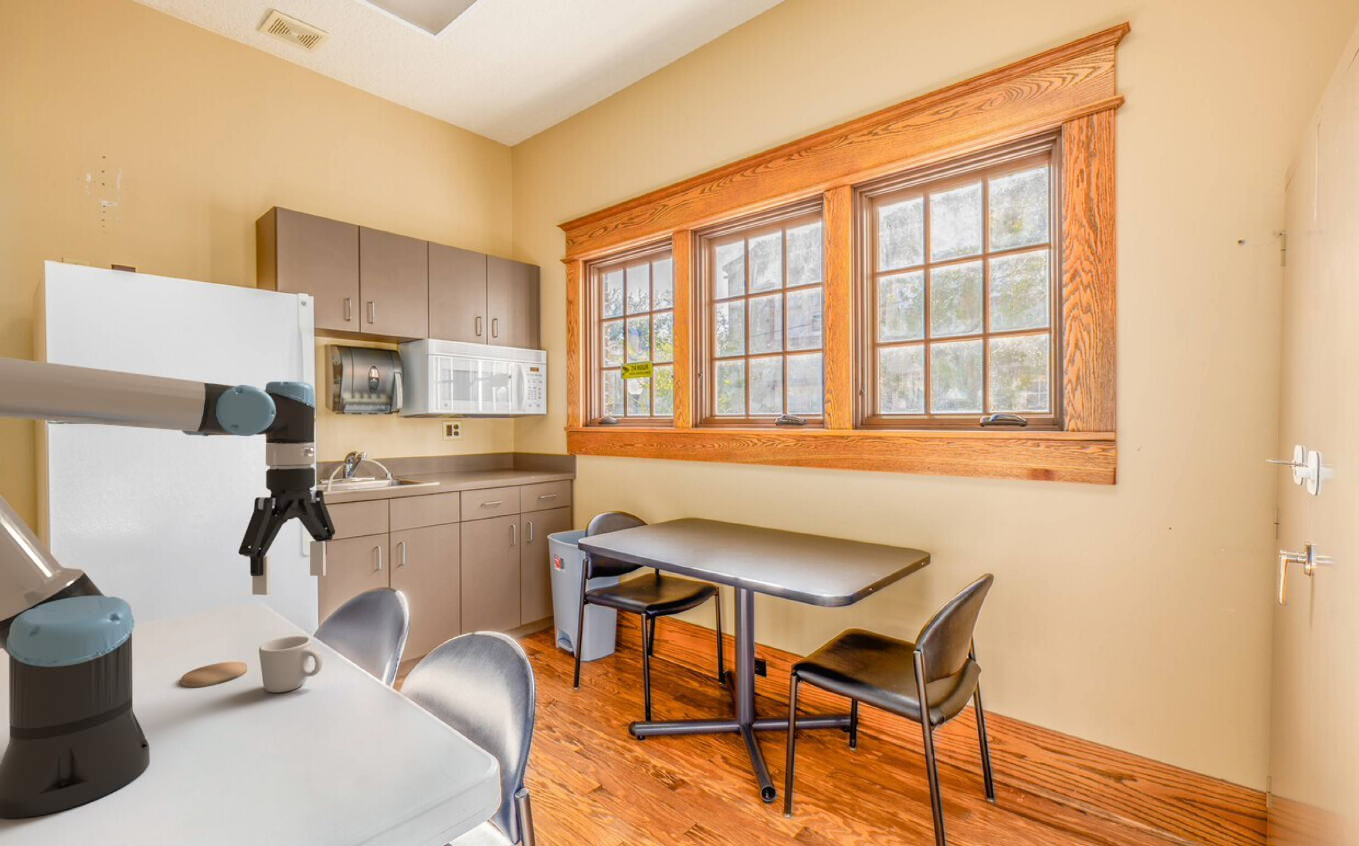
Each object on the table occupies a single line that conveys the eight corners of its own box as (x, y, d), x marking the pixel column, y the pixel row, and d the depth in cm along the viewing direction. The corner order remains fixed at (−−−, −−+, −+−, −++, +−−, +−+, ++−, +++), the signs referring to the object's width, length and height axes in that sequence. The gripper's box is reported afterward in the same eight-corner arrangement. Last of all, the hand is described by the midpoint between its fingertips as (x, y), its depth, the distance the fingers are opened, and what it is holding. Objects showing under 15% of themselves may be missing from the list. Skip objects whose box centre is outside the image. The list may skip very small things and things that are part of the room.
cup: (335, 679, 115) (335, 636, 115) (305, 698, 107) (305, 651, 107) (281, 677, 116) (281, 635, 116) (247, 696, 108) (247, 650, 108)
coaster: (214, 688, 111) (214, 683, 111) (166, 685, 113) (166, 681, 113) (259, 666, 121) (259, 662, 121) (214, 664, 123) (214, 660, 123)
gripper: (253, 471, 99) (254, 604, 99) (354, 463, 124) (355, 568, 124) (211, 471, 100) (212, 602, 100) (320, 463, 125) (320, 568, 125)
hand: (291, 584), depth 112 cm, fingers open, 13 cm apart
